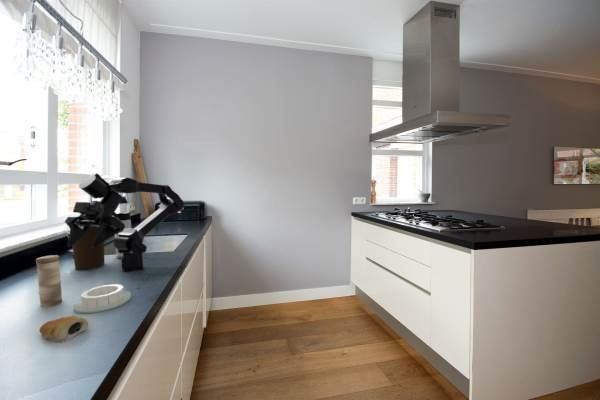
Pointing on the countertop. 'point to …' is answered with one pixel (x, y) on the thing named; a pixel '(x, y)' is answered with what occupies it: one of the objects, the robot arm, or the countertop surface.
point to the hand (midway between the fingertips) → (80, 246)
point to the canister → (49, 280)
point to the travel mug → (126, 220)
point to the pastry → (63, 328)
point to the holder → (102, 299)
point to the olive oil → (88, 250)
